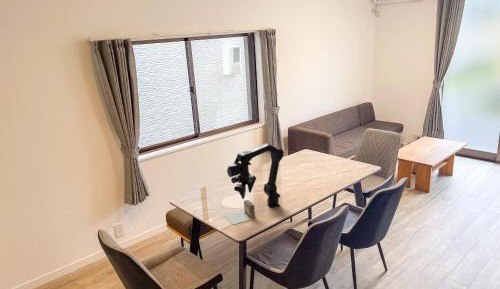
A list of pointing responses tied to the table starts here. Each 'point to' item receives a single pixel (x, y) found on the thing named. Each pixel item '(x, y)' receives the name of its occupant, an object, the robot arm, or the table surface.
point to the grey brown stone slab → (249, 208)
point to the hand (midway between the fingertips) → (246, 195)
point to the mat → (237, 217)
